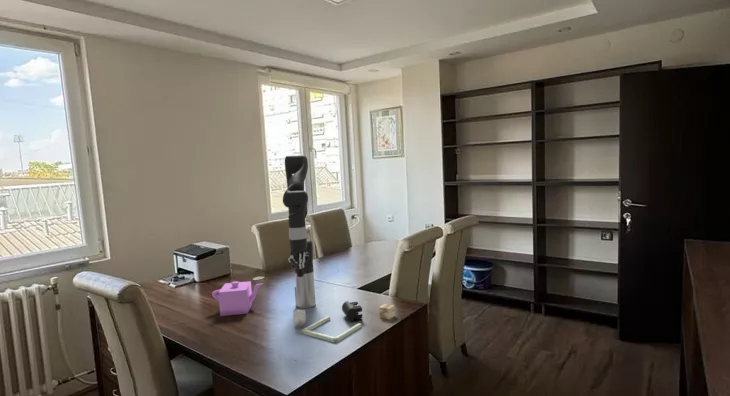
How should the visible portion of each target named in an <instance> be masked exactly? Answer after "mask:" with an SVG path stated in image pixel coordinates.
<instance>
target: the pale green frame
mask: <svg viewBox="0 0 730 396" xmlns="http://www.w3.org/2000/svg"><path fill="white" fill-rule="evenodd" d="M329 321H331V316H330V315H327V316H325V317H324V318H321V319H320V320H317V321H316V322H314V323H312V324H310V325H308V326H306V327H304V328H301V334H303V335H306V336H310V337H314V338H317V339H321V340H324V341H328V342H332V343H334V344H336V343H338V342H340V341H341V340H343V339H344V338H347V336H349V335H351V334H352V333H354V332H356V331H357V330H359V329H360V328H362V323H360V322H357V323H356V324H355V325H353V326H351V327H350V328H348V329H346V330H345V331H343V332H342V333H340V334H338V335H336V336H332V335H328V334H324V333H320V332H317V331H314V329H316V328H318V327H320V326H321V325H323V324H325V323H327V322H329ZM312 330H313V331H312Z"/></svg>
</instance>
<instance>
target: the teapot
mask: <svg viewBox="0 0 730 396" xmlns="http://www.w3.org/2000/svg"><path fill="white" fill-rule="evenodd" d="M262 285H264V283H262V282H261V283H256V284H255V285H254V287H253V290H252V281H250V280H249V281H241V282H240V281H237V280H236V281H232V282H228V283H226V282H225V283H224V284H223V285H222V287H221V288H220V289H216V290H214V291H212V292H211V296H212V297H213V298H214V299H215V300H216V301H218V302H219V303H218V304H219V315H220V317H225V316H234V315H235V316H237V315H244V314H245V315H246V314H249V312H250V310H251V307H252V305H253V301H254V300H255V298H256V297H257V293H258V289H259V288H260V286H262Z"/></svg>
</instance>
